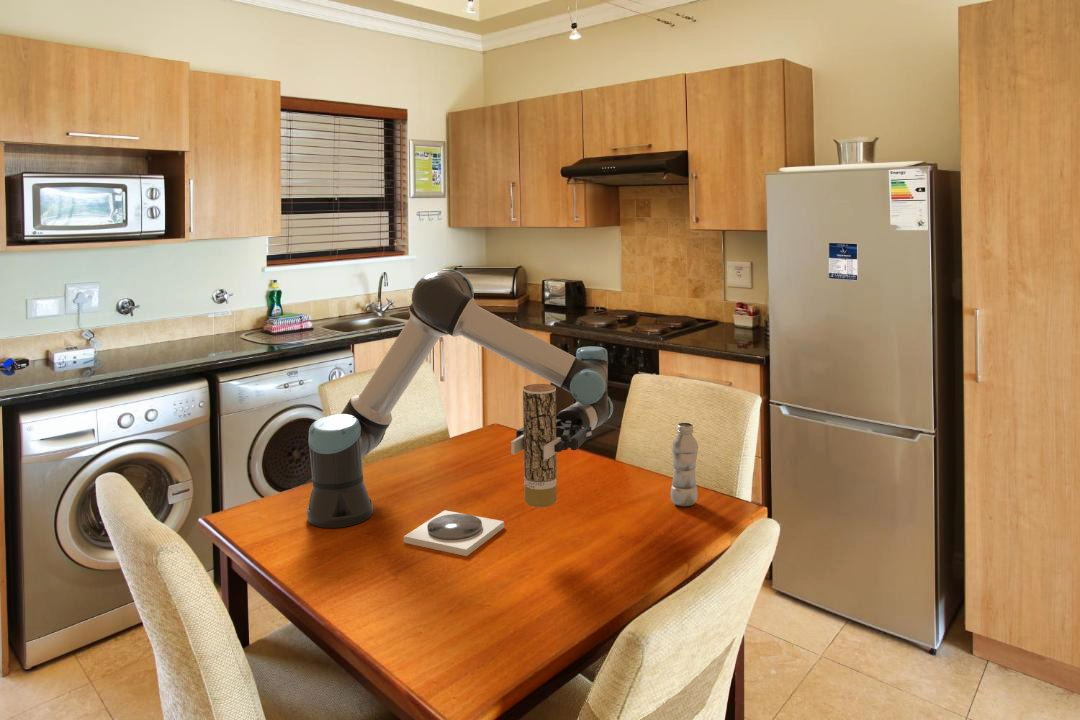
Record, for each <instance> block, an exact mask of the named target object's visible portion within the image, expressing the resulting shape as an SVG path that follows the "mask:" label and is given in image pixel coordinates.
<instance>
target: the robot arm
mask: <svg viewBox="0 0 1080 720" xmlns="http://www.w3.org/2000/svg"><path fill="white" fill-rule="evenodd" d="M474 295H475V292H474V288H473V285H472V282H471V281H470V279H469V278H468V277H467V276H466V275H465V274H464V273H463V272H460V271H458V270H455V269H450V268H449V269H448V268H445V269H443V268H442V269H440V270H437V271H436V272H433V273H429V274H427V275H425V276H423V277H421V278H420V279H419V280H418V281H417V282H416V284H415V285H414V287H413V289H412V293H411V303H410V305H409V307H408V313H409V319H408V320H407V322H406V323H405V325H404V326H403V328H402V330H401V331H400V333H399V334H398V336H397V338H395V340H394V342H393V343H392V344H391V347H390V348H389V349H388V351H387V353H386V354H385V356H384V357H383V359H382V361H381V363H380V364H379V365H378V367H377V368H376V370H375V372H374V373H373V375H372V376H371V378H370V379H369V380H368V382H367V384H366V385H365V387H364V388H363V390H362V392H361V393H359V394H354V395H352V396H351V397H350V399H349V400H348V402H347V404H346V405H345V407H344V408H343V410H342V411H341V413H335V414H329V415H327V416H325V417H323V416H322V417H321V418H318V419H316V420H314V421H313V422H312V423H311V425H310V426H309V429H308V440H307V441H308V442H307V443H308V448H309V457H310V458H309V459H310V469H311V471H310V472H311V480H312V490H311V493H310V498H309V502H308V506H307V508H306V518H307V522H308V523H309V524H310V525H312V526H315V527H317V528H324V529H325V528H326V529H335V528H336V529H339V528H346V527H350V526H351V527H352V526H354V525H357V524H360V523H363V522H365V521H367V520H368V519H370V518H371V517H372V516H373V514H374V507H373V506H374V505H373V501H372V500H371V498H370V496H369V493H368V491H367V488H366V485H365V482H364V469H363V459H364V458H365V457H366V456H367V455H369V453H371V452H372V451H374V449H375V448H377V447H378V446H379V445H380V444H381V443H382V441H383V440H384V436H386V431H387V429H388V428H389V427H390V424H391V423H392V421H393V417H392V410H393V409H394V408H395V407H396V405H397V403H398V402H399V400H400V399H401V397H402V396H403V394H404V392H405V391H406V389H407V388H408V386H409V385H410V383H411V382H412V380H413V379H414V377H415V376H416V375H417V373H418V371H419V370H420V368H421V367H422V365H423V364H424V362H425V361H426V359H427V358H428V356H429V355H430V353H431V352H432V350H433V348H434V347H435V346H436V344H437V342H438V341H439V340H440V338H442V337H444V336H449V335H450V336H452V337H453V338H455V337H459V336H462V337H463V338H465V339H467V340H468V341H469V340H470V341H471V342H473V343H474V344H476V345H479V346H481V347H483V348H485V349H487V350H488V351H490V352H491V353H492V352H493V353H494V354H496V355H497V356H499V357H502V358H504V359H505V360H508V361H510V362H511V363H513V364H515V365H517V366H519V367H521V368H522V369H525V370H527V371H529V372H531V373H532V374H534V375H536V376H538V377H540V378H542V379H544V380H546V381H548V382H550V383H552V385H554V386H557V387H559V388H561V389H562V390H565V391H566V392H568V393H570V394H571V396H572V397H573V398H574V399H575V403H572V404H571V405H570V406H568V407H566V408H564V409H562V410H560V411H559V412H558V413H556V439H554V440H553V441H551V442H549V443H548V444H546V445H545V446H544V459H549V458H550V457H552V456H553V455H555V454H556V455H557V454H558V453H560V452H563V451H568V449H570V450H571V451H576V450H578V449H579V448H580V447H581V446H583V444H584V443H585V442H586V441H589V440H590V439H592V437H593V436H592V433H593V432H592V431H594V430H595V429H597V428H598V427H600V426H602V425H604V424H605V423H607V421H608V420H609V419H610V418H611V416H612V415H613V412H614V404H613V402H612V400H611V397H609V396H608V395H609V394H608V393H609V392H608V379H609V377H608V376H609V375H608V373H609V372H608V371H609V368H608V367H609V366H608V365H609V360H608V356H609V355H608V350H607V348H604V347H601V346H594V345H593V346H591V345H590V346H589V345H588V346H582V347H579V348H577V350H576V352H575V353H576V354H575V355H576V356H574V355H573V354H570V353H569V352H567V351H565V350H563V349H561V348H560V347H559V348H558V347H557V346H555V345H553V344H551V343H549V342H547V341H545V340H543V339H542V338H540V337H538V336H537V335H534V334H532V333H530V332H528V331H526V330H524V329H523V328H522V327H519V326H517V325H515V324H513V323H511V322H510V321H507V320H505V319H504V318H502V317H500V316H498V315H496V314H495V313H492V312H490V311H488V310H486V309H484V308H483V307H481V306H478V305H477V303H476V300H475V298H474V297H475V296H474ZM515 434H516V435H515V436H516V437H515V438H514V439H513V440H511V441H510V446H511V447H510V453H511V455H516V454H518V453H519V452H521V451H524V426H522V427H521V428H519V429H517V430H516V433H515Z"/></svg>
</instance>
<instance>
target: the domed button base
mask: <svg viewBox="0 0 1080 720" xmlns="http://www.w3.org/2000/svg"><path fill="white" fill-rule="evenodd" d="M504 528H505V521H503V520H499V519H494V518H488V517H484V516H483V517H482V516H477V515H472V514H467V513H461V512H457V511H450V510H442V511H441V512H440V513H439V514H436V515H435V516H433V517H432V518H430V519H428V520H427V521H425V522H423V524H421V525H419V526H417V527H415V529H413V530H411V531H410V532H408V533H407V534H405V535H403V543H405V544H409V545H413V546H416V547H417V546H418V547H423V548H427V549H431V550H437V551H440V552H444V553H451V554H455V555H459V556H464V557H468V556H469V555H470V554H471V553H473V552H474V551H476V550H477V549H478V548H479V547H480V546H483V544H484V543H487V541H489V540H490V539H492V538H493V537H494V536H495V535H496V534H498V533H499V532H501V531H502V530H503V529H504Z"/></svg>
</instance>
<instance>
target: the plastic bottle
mask: <svg viewBox="0 0 1080 720" xmlns="http://www.w3.org/2000/svg"><path fill="white" fill-rule="evenodd" d="M676 430H677V431H676V433H677V435H676V436H675V437H674V438H673V440H672V442H671V455H672V464H673V465H672V467H673V470H672V471H673V472H672V473H673V474H672V483H671V488H670V500H671V502H672V503H673V504H674V505H676V506H679V507H690V506H694V505H695V503H696V502H697V499H698V488H697V480H696V467H697V460H698V452H699V444H698V442H697V439H696V438H695V437H694V435H693V433H694V425H693V424H692V423H691V422H679V423H677V429H676Z"/></svg>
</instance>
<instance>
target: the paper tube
mask: <svg viewBox="0 0 1080 720" xmlns="http://www.w3.org/2000/svg"><path fill="white" fill-rule="evenodd" d="M522 404H523V405H522V409H523V411H522V414H523V415H522V416H523V420H522V421H523V427H524V449H523V471H524V472H523V473H524V474H523V479H524V480H523V481H524V482H523V483H524V502H525V503H526V505H529V506H530V507H533V508H548V507H551V506H553V505H555V503H556V502H557V499H558V497H557V496H558V494H557V489H558V488H557V487H558V486H557V476H558V475H557V473H558V472H557V468H558V467H557V464H558V462H557V453H556V454H555V455H553V456H552V457H550V458H549V459H544V446H545V445H546V444H548V443H549V442H551V441H553V440H554V439H556V415H557V387H556V385H554V384H548V383H531V384H527V385H524V386H523V387H522Z"/></svg>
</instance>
